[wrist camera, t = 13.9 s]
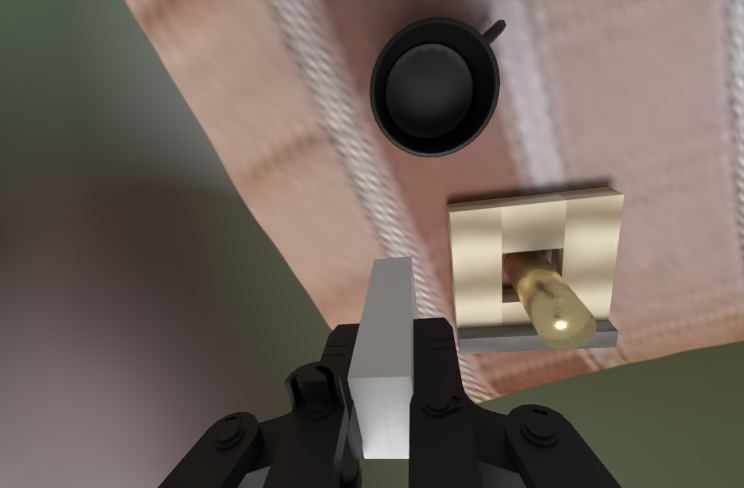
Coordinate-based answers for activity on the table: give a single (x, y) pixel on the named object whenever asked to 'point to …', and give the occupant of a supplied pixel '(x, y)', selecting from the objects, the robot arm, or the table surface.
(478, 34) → the mug
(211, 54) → the table surface
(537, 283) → the pale yellow cylinder
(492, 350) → the jig
